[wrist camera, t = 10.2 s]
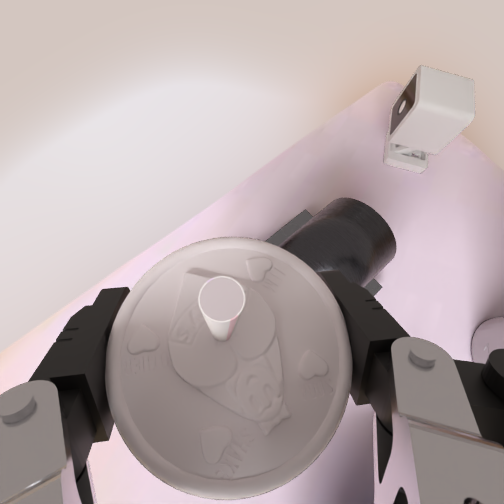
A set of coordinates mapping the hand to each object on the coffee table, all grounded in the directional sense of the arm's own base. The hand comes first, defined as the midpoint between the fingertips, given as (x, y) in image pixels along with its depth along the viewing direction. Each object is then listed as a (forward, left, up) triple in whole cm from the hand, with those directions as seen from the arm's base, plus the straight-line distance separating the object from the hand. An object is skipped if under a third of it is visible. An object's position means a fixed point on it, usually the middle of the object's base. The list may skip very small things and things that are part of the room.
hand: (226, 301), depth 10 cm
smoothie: (0, +2, -8) cm, 8 cm away
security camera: (-26, -22, -21) cm, 40 cm away
